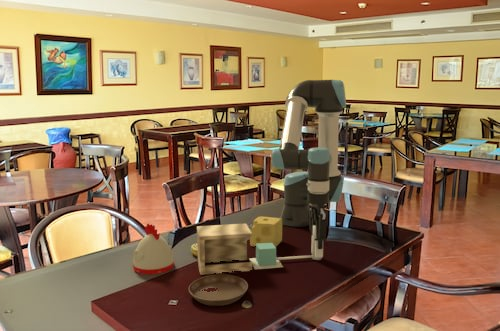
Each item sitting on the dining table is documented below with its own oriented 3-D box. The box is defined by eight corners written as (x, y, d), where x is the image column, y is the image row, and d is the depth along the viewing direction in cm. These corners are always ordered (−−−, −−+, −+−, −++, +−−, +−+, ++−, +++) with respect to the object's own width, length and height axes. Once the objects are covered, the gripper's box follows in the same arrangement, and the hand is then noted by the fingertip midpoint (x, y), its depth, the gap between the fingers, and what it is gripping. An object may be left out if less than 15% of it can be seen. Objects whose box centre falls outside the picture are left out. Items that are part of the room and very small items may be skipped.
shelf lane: (246, 258, 166) (245, 223, 164) (252, 270, 154) (252, 233, 152) (197, 261, 162) (196, 226, 160) (200, 274, 151) (199, 236, 149)
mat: (275, 256, 167) (275, 256, 167) (282, 267, 157) (282, 266, 157) (249, 258, 165) (249, 258, 165) (254, 269, 155) (254, 268, 155)
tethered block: (318, 254, 168) (319, 223, 166) (324, 260, 162) (325, 228, 160) (255, 259, 164) (255, 227, 162) (259, 265, 158) (259, 232, 156)
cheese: (249, 246, 179) (249, 221, 177) (259, 238, 188) (259, 214, 187) (274, 249, 175) (274, 224, 173) (283, 241, 185) (283, 217, 183)
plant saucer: (199, 314, 125) (198, 304, 125) (182, 289, 141) (181, 279, 141) (257, 302, 132) (257, 292, 132) (234, 279, 148) (234, 270, 148)
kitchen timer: (159, 256, 169) (158, 217, 166) (181, 266, 159) (180, 224, 156) (125, 266, 159) (123, 225, 156) (147, 277, 149) (145, 233, 147)
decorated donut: (223, 256, 168) (223, 246, 168) (195, 260, 164) (195, 250, 164) (214, 247, 178) (214, 238, 177) (188, 251, 174) (187, 241, 173)
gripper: (301, 187, 168) (300, 247, 172) (315, 197, 152) (314, 264, 156) (320, 186, 169) (319, 246, 173) (336, 196, 153) (335, 262, 157)
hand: (317, 254), depth 164 cm, fingers closed on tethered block, 3 cm apart
